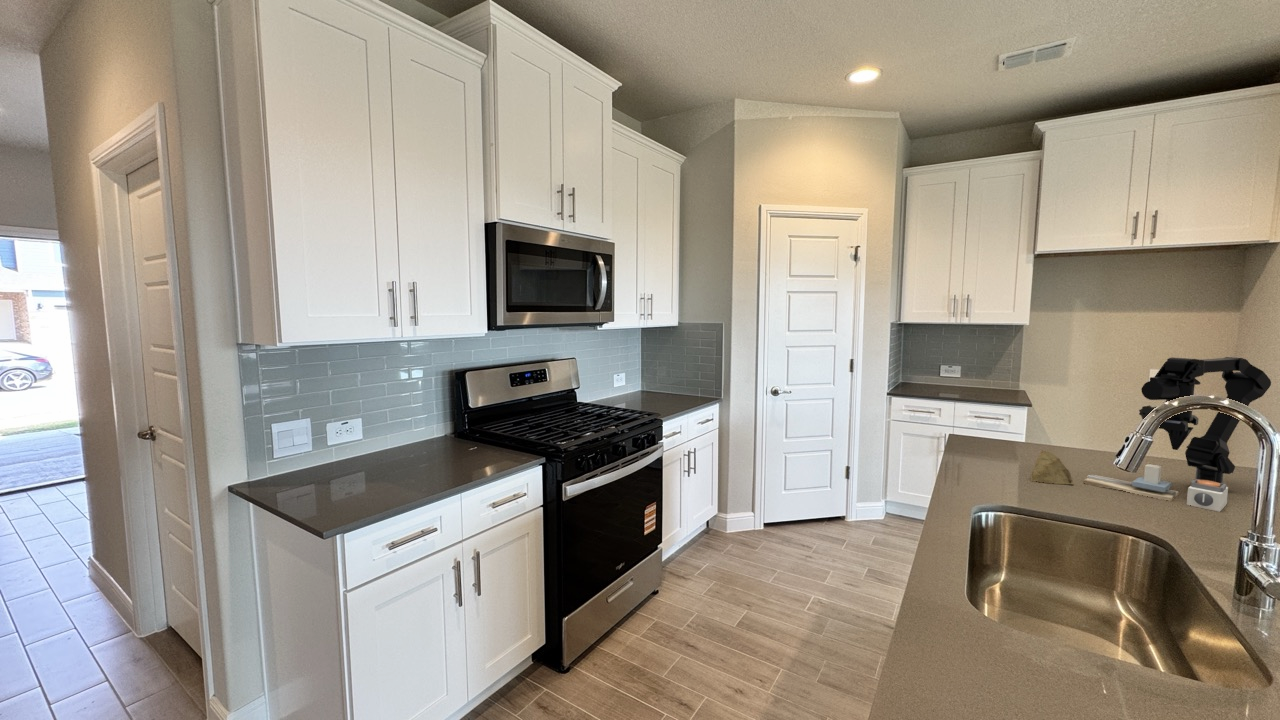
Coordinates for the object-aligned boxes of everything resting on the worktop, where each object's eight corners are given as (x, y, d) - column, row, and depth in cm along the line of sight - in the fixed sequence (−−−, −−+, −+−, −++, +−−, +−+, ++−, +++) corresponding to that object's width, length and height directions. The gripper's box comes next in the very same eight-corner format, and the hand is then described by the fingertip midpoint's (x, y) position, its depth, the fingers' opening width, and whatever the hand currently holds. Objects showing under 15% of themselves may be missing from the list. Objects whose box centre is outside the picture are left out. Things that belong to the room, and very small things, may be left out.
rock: (1080, 476, 167) (1044, 464, 175) (1079, 458, 163) (1042, 447, 171) (1065, 500, 164) (1028, 487, 172) (1063, 482, 160) (1026, 470, 168)
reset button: (1198, 483, 151) (1199, 478, 151) (1221, 487, 147) (1221, 482, 147) (1195, 486, 148) (1195, 481, 148) (1218, 490, 145) (1218, 485, 144)
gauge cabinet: (1194, 497, 154) (1196, 477, 153) (1226, 504, 148) (1228, 483, 148) (1186, 505, 148) (1188, 484, 147) (1219, 512, 142) (1221, 490, 142)
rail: (1093, 477, 173) (1093, 472, 172) (1178, 494, 156) (1178, 488, 156) (1083, 483, 167) (1083, 477, 167) (1170, 501, 151) (1170, 495, 150)
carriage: (1139, 481, 163) (1141, 461, 162) (1170, 487, 157) (1172, 466, 156) (1132, 485, 158) (1133, 465, 157) (1164, 492, 152) (1166, 471, 152)
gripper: (1151, 393, 169) (1147, 440, 170) (1134, 398, 158) (1130, 448, 160) (1200, 397, 160) (1196, 447, 161) (1187, 403, 149) (1182, 456, 151)
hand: (1175, 449), depth 158 cm, fingers closed
